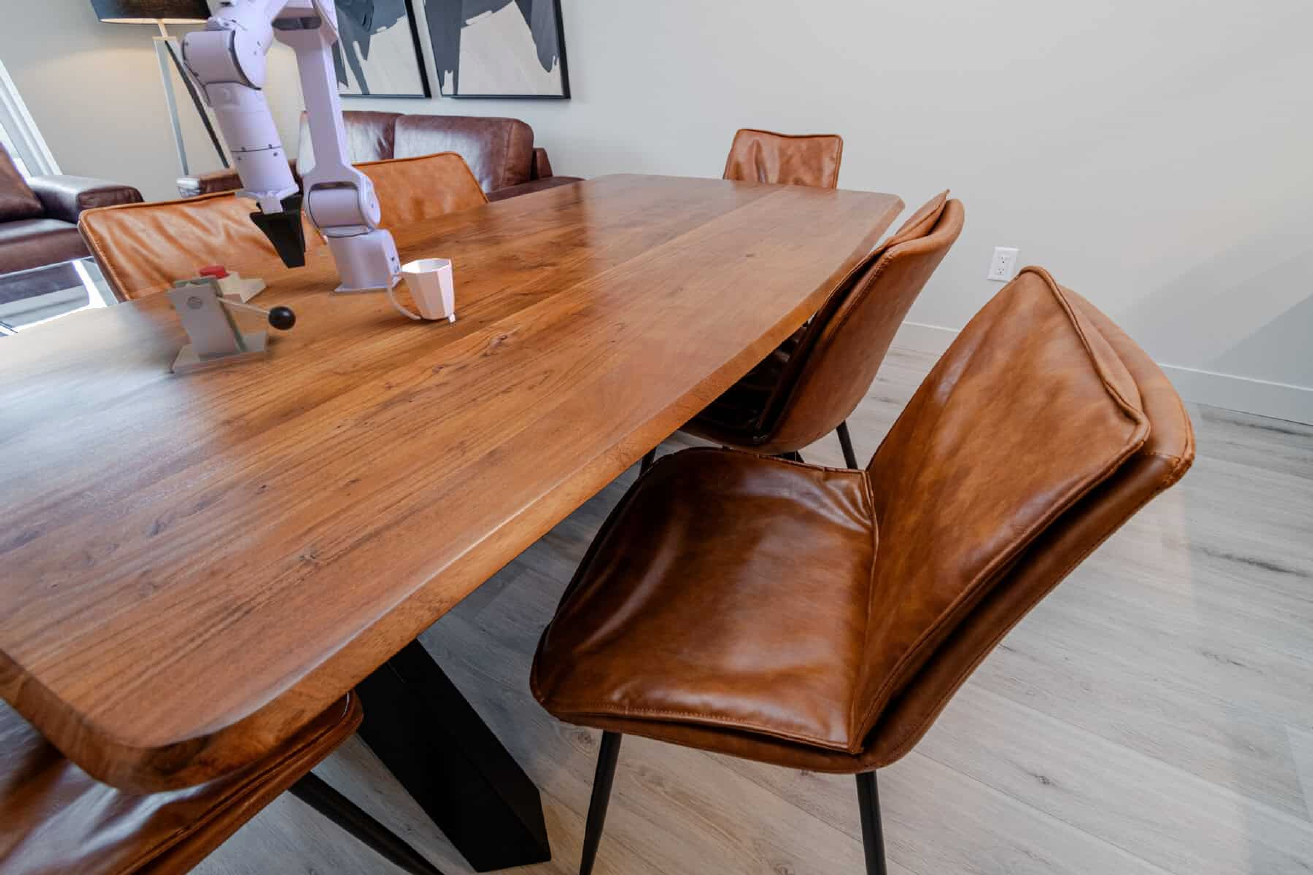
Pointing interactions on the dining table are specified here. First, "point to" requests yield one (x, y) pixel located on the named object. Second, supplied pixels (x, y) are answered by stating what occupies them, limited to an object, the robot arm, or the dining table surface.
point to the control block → (240, 287)
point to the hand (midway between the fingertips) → (297, 259)
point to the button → (214, 272)
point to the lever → (261, 312)
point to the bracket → (210, 327)
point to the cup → (427, 288)
